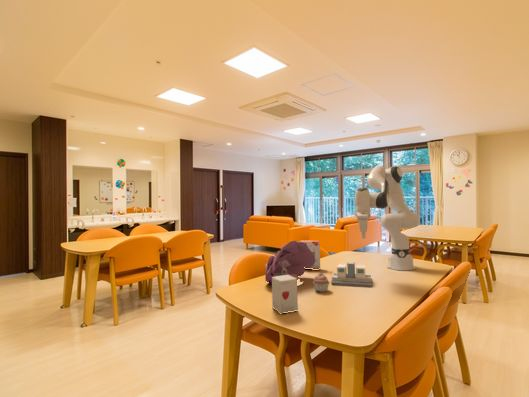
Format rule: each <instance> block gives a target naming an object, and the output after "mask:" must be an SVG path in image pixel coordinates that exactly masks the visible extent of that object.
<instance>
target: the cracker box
mask: <svg viewBox="0 0 529 397" xmlns="http://www.w3.org/2000/svg"><path fill="white" fill-rule="evenodd" d="M298 242H303V243H305V244H306V245H307V246H308V250H310V251H311V252H312V253H313V254H314V256H315V263H314V265H313V266H311V267H305V268H313V269H319V268H320V269H321V253H320V252H321V251H320V240H303V239H302V240H299V241H298Z"/></svg>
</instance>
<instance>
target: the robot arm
mask: <svg viewBox="0 0 529 397" xmlns="http://www.w3.org/2000/svg"><path fill="white" fill-rule="evenodd" d="M402 179H403V171H402V169H401V168H400V167H399V166H391V167H389V168H385V167H384V166H381V165H377V166H374V167H373V168H372V169H371V171H370V172H369V173H368V176H367V179H366V183H367V185H368V186H369V187H370V188H371V189H372V190H377V191H378V190H380V192H370V190H369V189H370V188H367V187H360V188H359V187H358V188H356V189H355V195H354V204H355V211H354V212H355V218H356V219H357V221H358V225H359V231H360V232H361V239H366V233H367V232H368V222H369V220H370V218H371V217H372V216H371V215H372V214H371V212H372V211H371V209H383V210H384V209H386V208H387V207H389V208H390V209H392V210H393V211H395V212H393V213H387V214H386V213H385V214H382V216H381V217H380V220H379V223H380V225H381V227H382V228H383V229H385V231H387V233H389V236H390V238H391V255H389V257H388V264H387V266H386V269H387V268H388V269H390V270H391V269H392V270H396V271H413V270H417V266H415V265H414V257H413V256H412V255H411V248H410V238H409V237H408V235H407V234H405V233H403V232H401V230H402V229H413V228H417V227H418V225H419V224H420V217H419V216H418V214H416V213H414V212H412V210H410V208H408V206H407V204H406V202H405V197H404V192H403V188H402V185H401V184H400V183H401V181H402Z"/></svg>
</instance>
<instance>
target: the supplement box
mask: <svg viewBox="0 0 529 397" xmlns="http://www.w3.org/2000/svg"><path fill="white" fill-rule="evenodd" d="M271 292H272V294H271V295H272V296H271V298H272V300H271V302H272V305H271V306H272V308H273V307H274V308H275V309H277V310H278V311H279V312H280V313H283V312H288V311H294V310H298V311H299V308H298V306H299V304H298V301H299V300H298V287H297V279H296V278H294V277H292V276H290V275H282V276H275V277H272V285H271Z"/></svg>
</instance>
